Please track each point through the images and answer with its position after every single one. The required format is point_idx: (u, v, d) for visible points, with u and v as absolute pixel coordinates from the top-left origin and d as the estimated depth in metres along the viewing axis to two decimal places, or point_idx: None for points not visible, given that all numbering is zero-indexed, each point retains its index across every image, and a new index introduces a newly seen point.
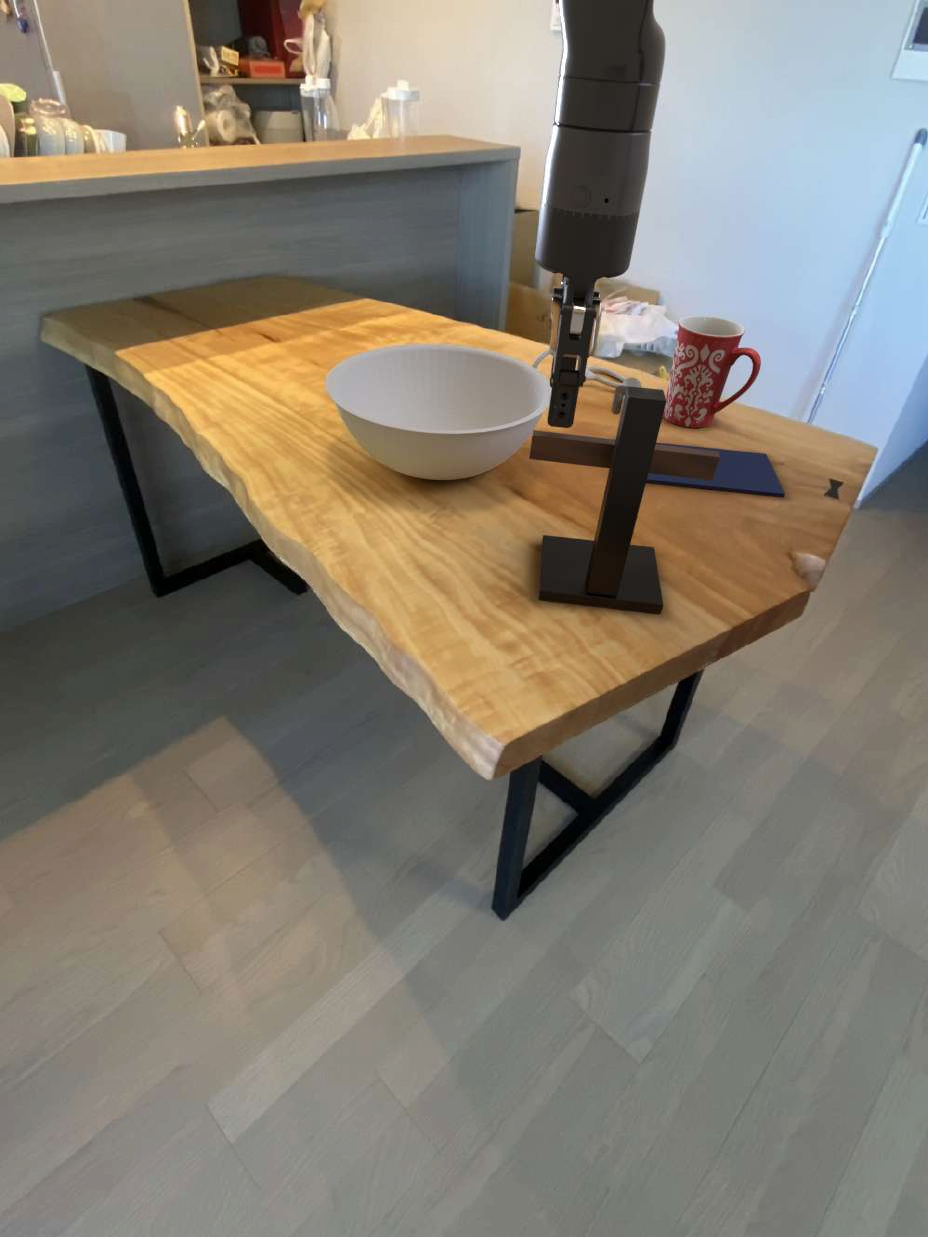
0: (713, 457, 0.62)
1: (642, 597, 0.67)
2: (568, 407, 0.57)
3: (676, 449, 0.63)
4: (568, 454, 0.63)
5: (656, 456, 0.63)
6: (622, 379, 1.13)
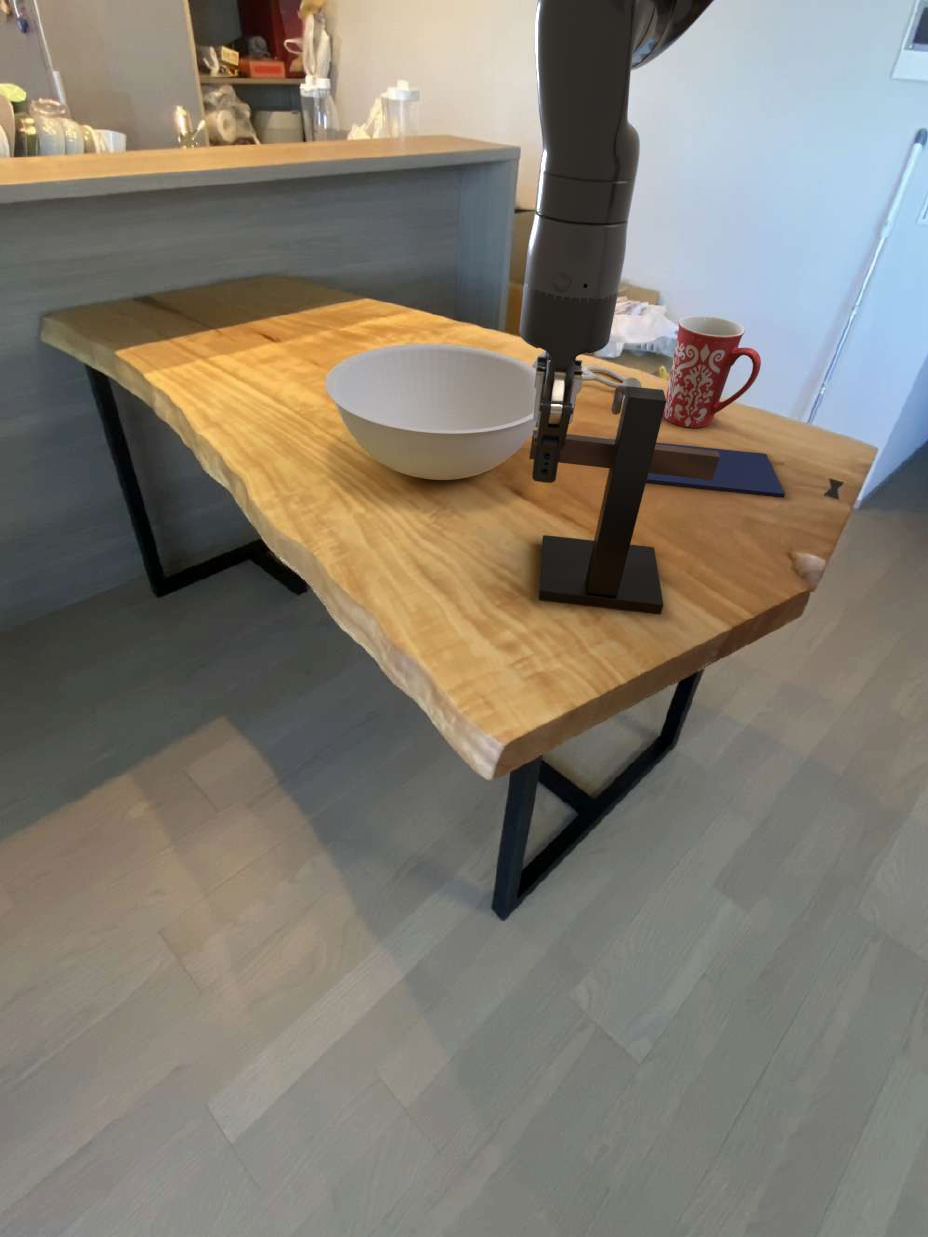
0: (713, 457, 0.62)
1: (642, 597, 0.67)
2: (550, 465, 0.63)
3: (676, 449, 0.63)
4: (568, 454, 0.63)
5: (656, 456, 0.63)
6: (622, 379, 1.13)
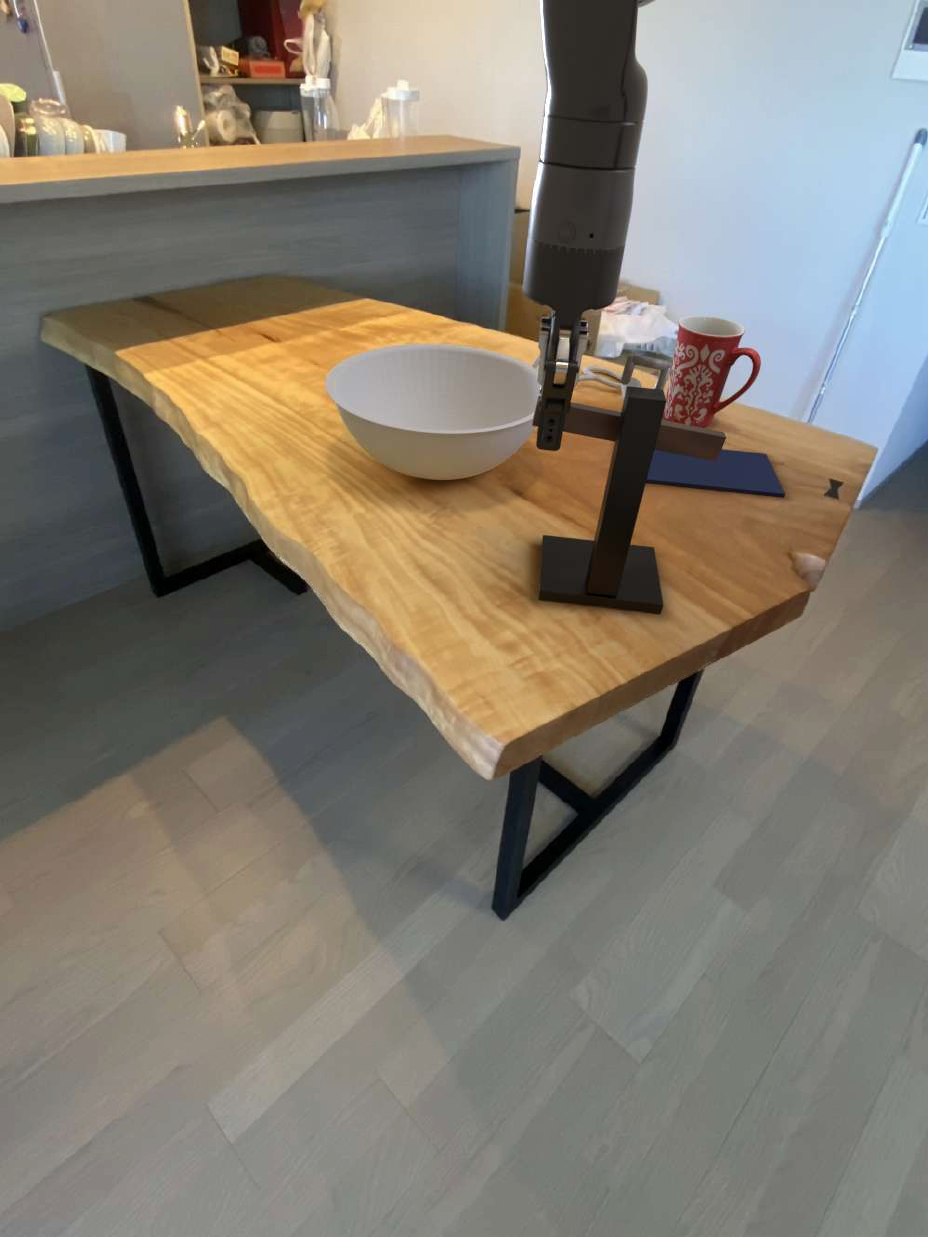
0: (719, 437, 0.61)
1: (642, 597, 0.67)
2: (555, 432, 0.61)
3: (682, 426, 0.61)
4: (572, 423, 0.62)
5: (662, 432, 0.61)
6: None
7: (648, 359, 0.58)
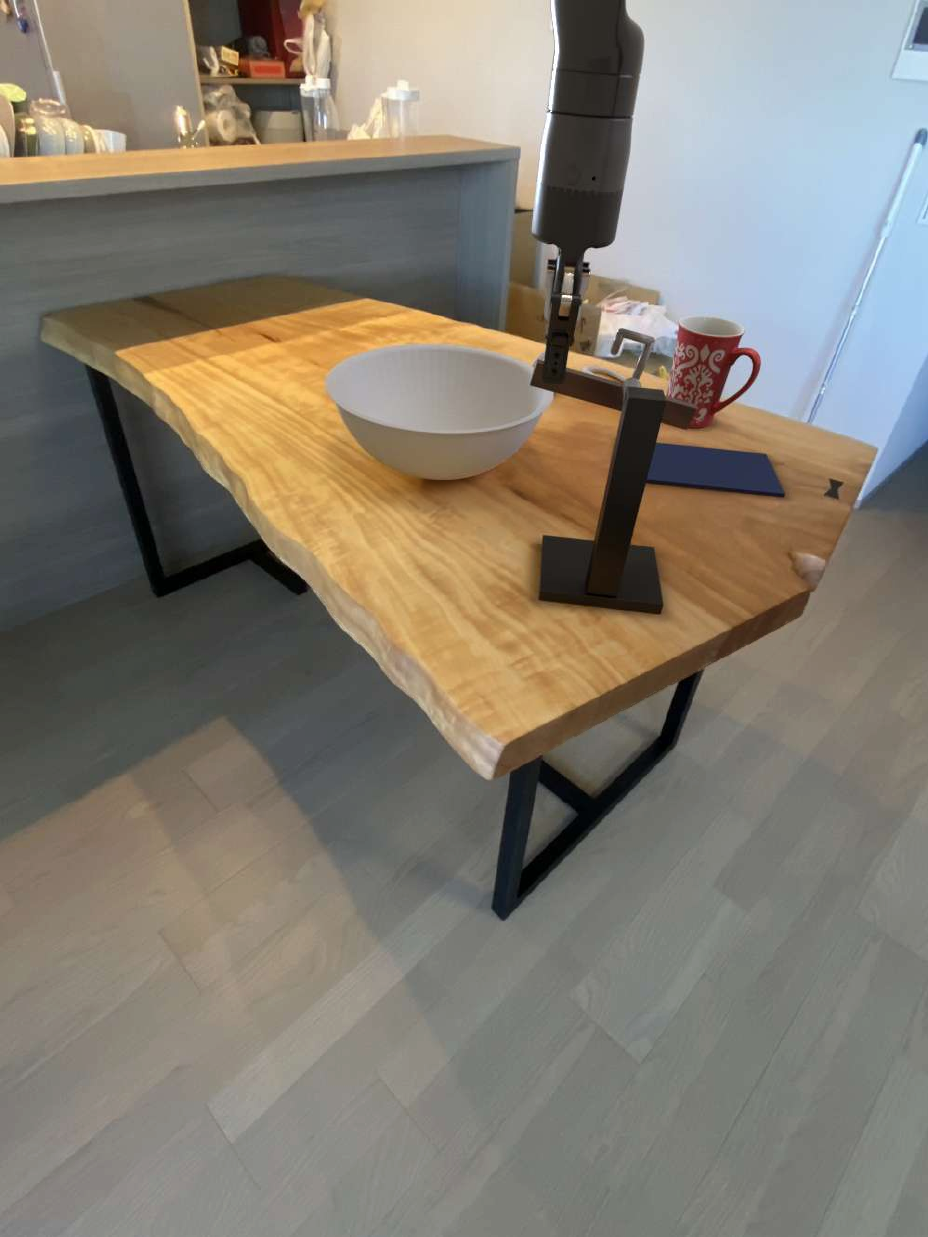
0: (691, 408, 0.70)
1: (642, 597, 0.67)
2: (559, 365, 0.67)
3: None
4: (565, 386, 0.70)
5: None
6: (622, 379, 1.13)
7: (635, 334, 0.66)
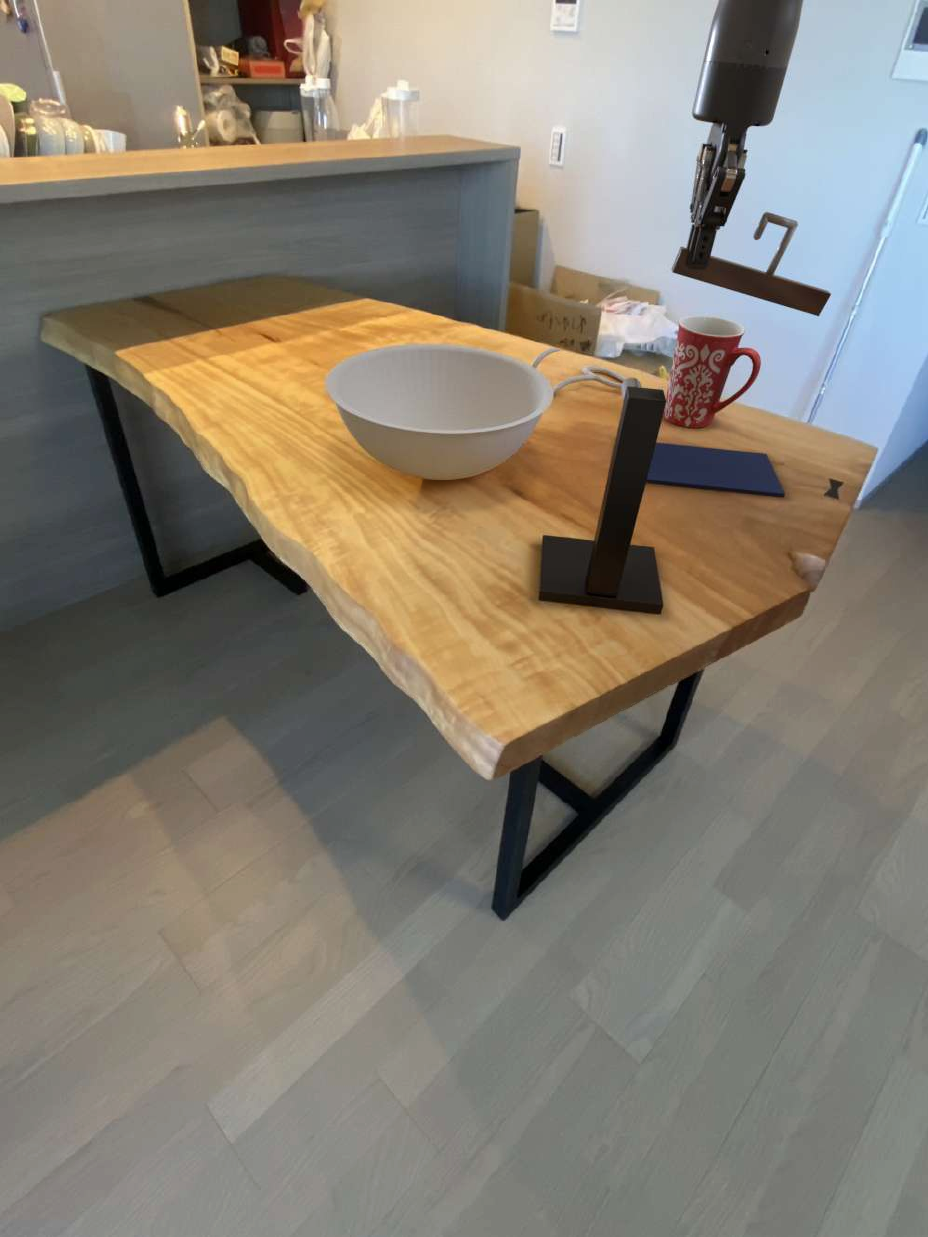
0: (825, 293, 0.74)
1: (642, 597, 0.67)
2: (706, 249, 0.71)
3: (796, 282, 0.74)
4: (706, 272, 0.74)
5: (780, 286, 0.74)
6: (622, 379, 1.13)
7: (780, 217, 0.70)
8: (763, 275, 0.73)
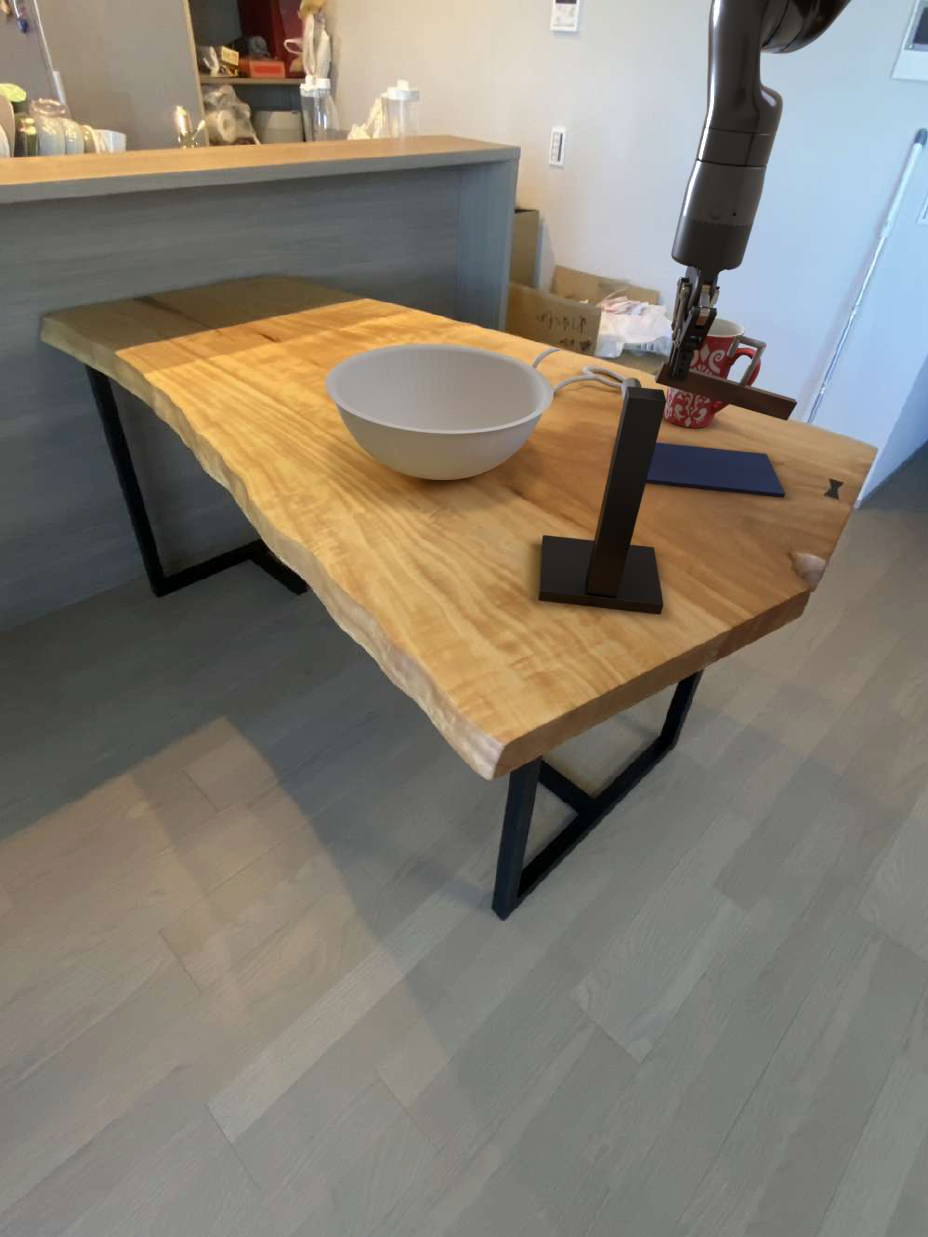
0: (792, 402, 0.83)
1: (642, 597, 0.67)
2: (685, 366, 0.80)
3: (766, 392, 0.83)
4: (686, 383, 0.83)
5: (751, 395, 0.83)
6: (622, 379, 1.13)
7: (750, 339, 0.79)
8: (736, 387, 0.82)
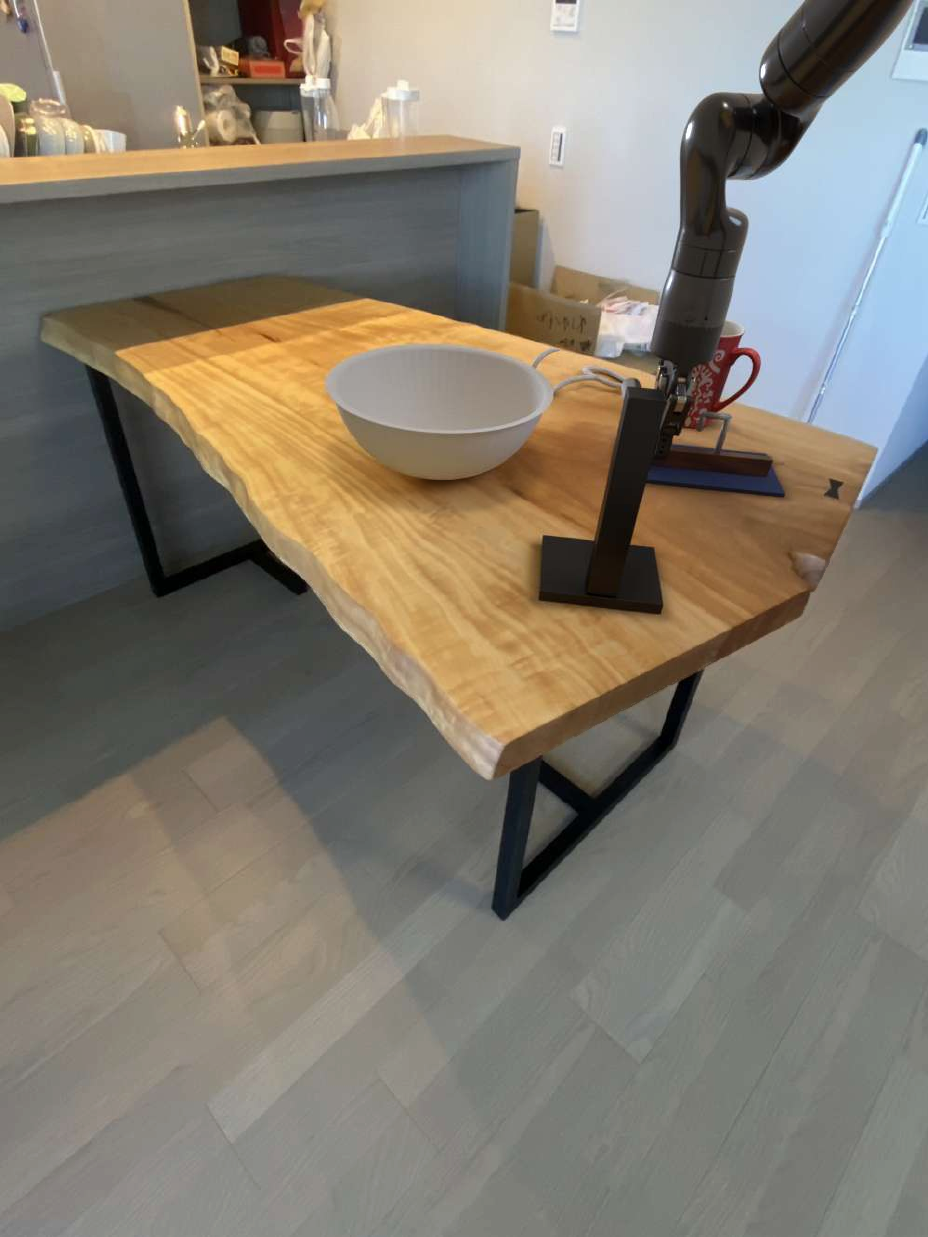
0: (768, 460, 0.88)
1: (642, 597, 0.67)
2: (665, 448, 0.86)
3: (741, 455, 0.88)
4: None
5: (727, 460, 0.88)
6: (622, 379, 1.13)
7: (715, 414, 0.85)
8: (711, 456, 0.88)
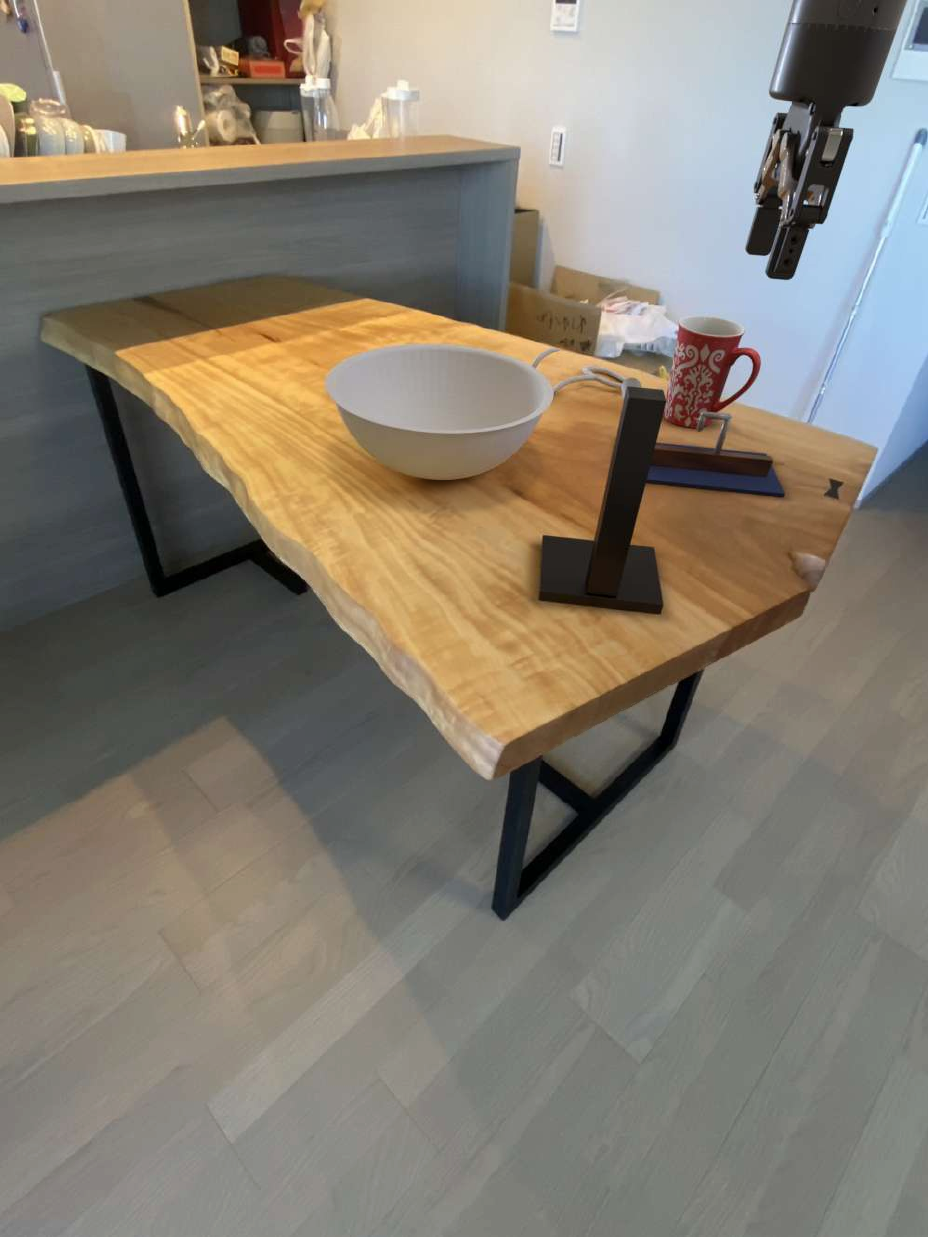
0: (768, 460, 0.88)
1: (642, 597, 0.67)
2: (795, 253, 0.55)
3: (741, 455, 0.88)
4: (663, 460, 0.89)
5: (727, 460, 0.88)
6: (622, 379, 1.13)
7: (715, 414, 0.85)
8: (711, 456, 0.88)
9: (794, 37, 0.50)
